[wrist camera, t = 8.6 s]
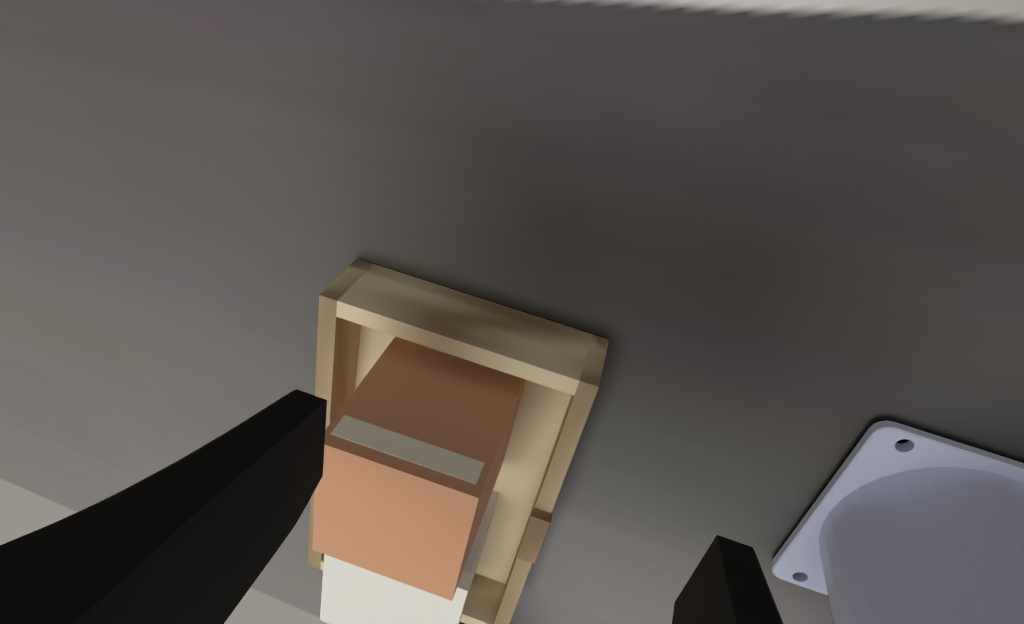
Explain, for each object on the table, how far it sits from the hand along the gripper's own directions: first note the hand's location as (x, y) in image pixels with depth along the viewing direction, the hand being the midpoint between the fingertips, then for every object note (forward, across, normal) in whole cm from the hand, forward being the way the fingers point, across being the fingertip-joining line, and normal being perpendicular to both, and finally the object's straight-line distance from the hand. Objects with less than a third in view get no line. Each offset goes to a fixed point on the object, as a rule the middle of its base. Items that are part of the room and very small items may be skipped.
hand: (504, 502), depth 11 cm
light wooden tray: (+10, +3, +10) cm, 14 cm away
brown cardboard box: (+9, +3, +6) cm, 12 cm away
